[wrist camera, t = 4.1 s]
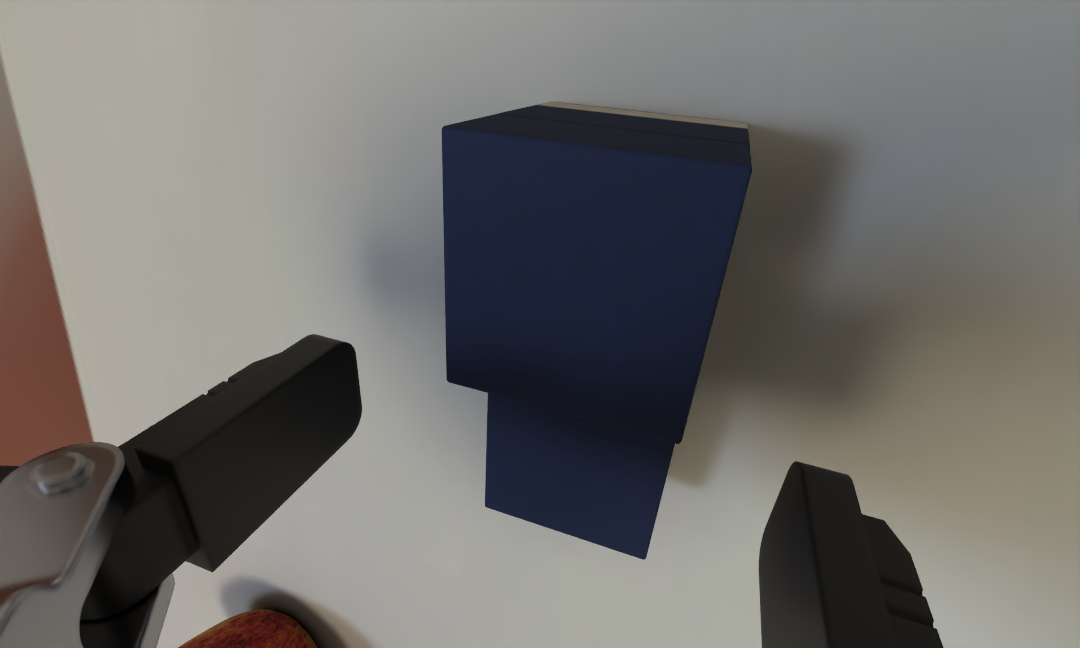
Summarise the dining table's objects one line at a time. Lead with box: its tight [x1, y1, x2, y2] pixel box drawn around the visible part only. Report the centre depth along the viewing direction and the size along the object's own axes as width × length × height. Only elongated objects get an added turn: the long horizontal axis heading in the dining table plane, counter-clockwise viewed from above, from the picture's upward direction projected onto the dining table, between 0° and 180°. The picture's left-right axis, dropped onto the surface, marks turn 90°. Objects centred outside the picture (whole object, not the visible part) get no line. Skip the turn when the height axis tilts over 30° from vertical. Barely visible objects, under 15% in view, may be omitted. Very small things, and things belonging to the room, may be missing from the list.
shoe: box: [442, 102, 752, 559], centre depth 12 cm, size 10×4×5 cm, turn 175°
